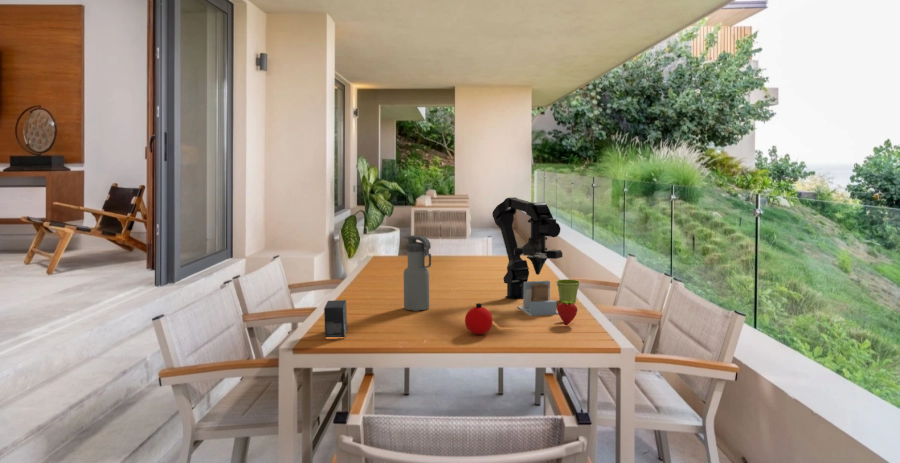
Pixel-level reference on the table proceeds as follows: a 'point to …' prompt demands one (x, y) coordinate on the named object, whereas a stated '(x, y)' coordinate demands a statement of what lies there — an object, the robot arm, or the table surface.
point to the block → (539, 292)
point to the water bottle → (417, 274)
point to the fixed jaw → (542, 307)
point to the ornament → (478, 320)
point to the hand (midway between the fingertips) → (537, 274)
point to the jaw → (528, 292)
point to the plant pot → (568, 289)
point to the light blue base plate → (530, 313)
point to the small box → (335, 318)
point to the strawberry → (567, 311)
